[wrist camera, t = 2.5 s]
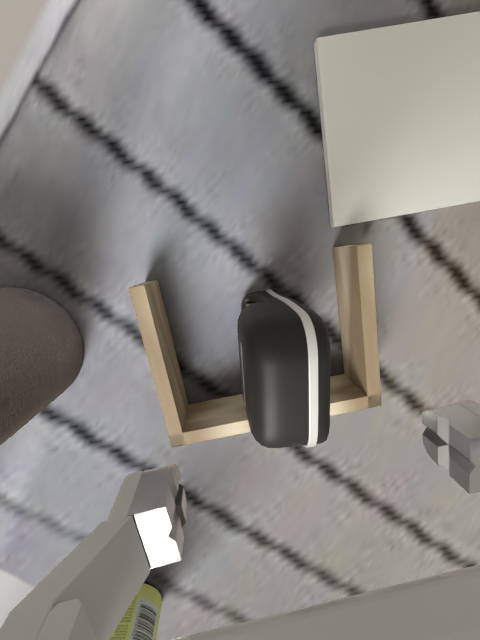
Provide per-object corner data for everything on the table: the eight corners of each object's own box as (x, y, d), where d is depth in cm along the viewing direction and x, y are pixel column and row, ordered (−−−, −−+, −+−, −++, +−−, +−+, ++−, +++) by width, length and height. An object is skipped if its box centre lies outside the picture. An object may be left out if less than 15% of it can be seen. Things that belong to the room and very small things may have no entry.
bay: (345, 245, 22) (371, 243, 18) (356, 381, 25) (381, 405, 21) (145, 281, 22) (128, 287, 18) (179, 416, 24) (172, 447, 21)
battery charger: (231, 289, 22) (241, 324, 11) (278, 286, 22) (334, 317, 11) (237, 370, 24) (251, 471, 13) (280, 366, 24) (332, 462, 13)
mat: (483, 16, 19) (492, 9, 19) (478, 201, 22) (485, 199, 21) (313, 44, 19) (316, 37, 18) (330, 228, 22) (333, 227, 21)
